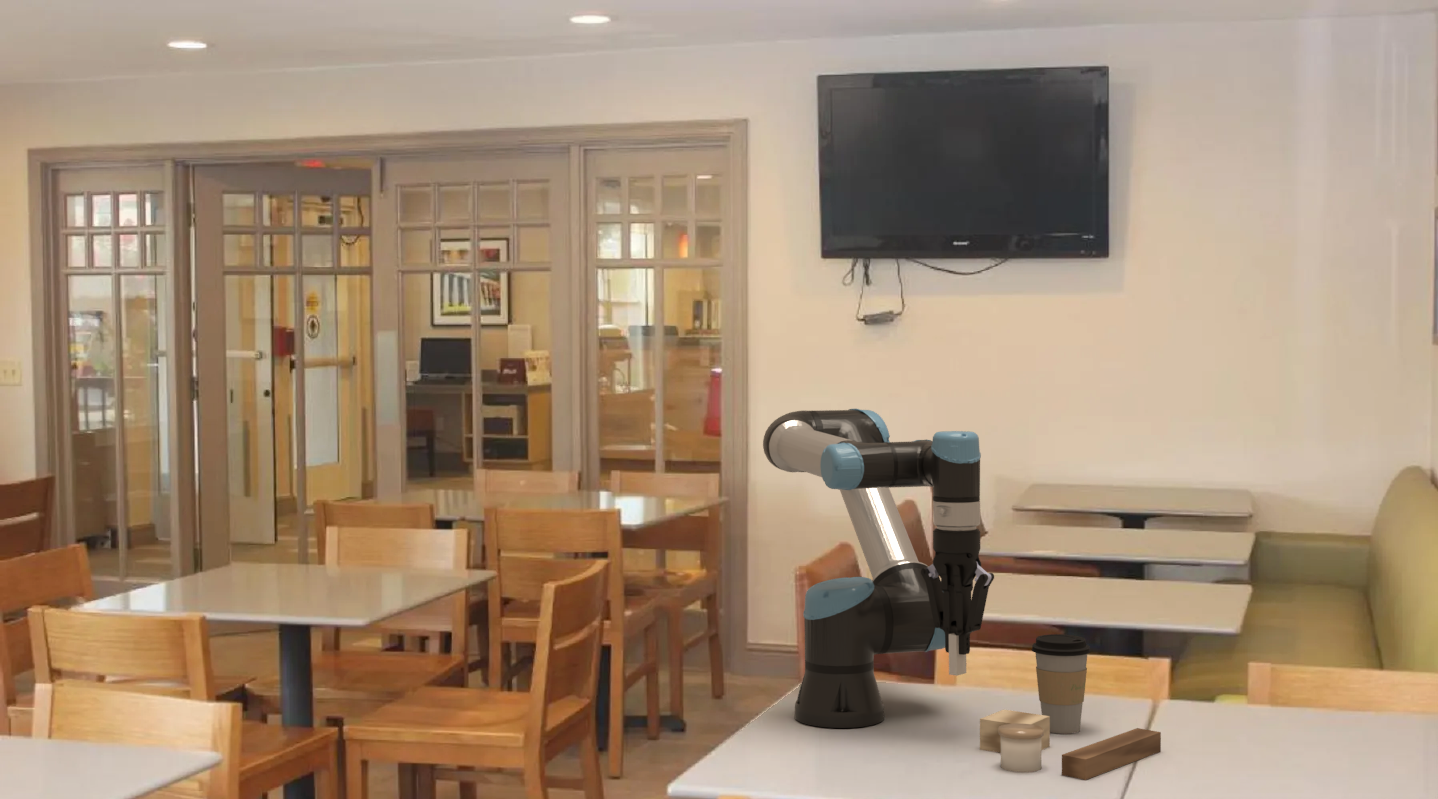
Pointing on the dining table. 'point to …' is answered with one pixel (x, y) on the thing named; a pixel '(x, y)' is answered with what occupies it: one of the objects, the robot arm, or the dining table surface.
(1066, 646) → the coffee cup
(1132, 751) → the board
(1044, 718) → the block
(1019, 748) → the sugar pot
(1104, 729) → the dining table surface
